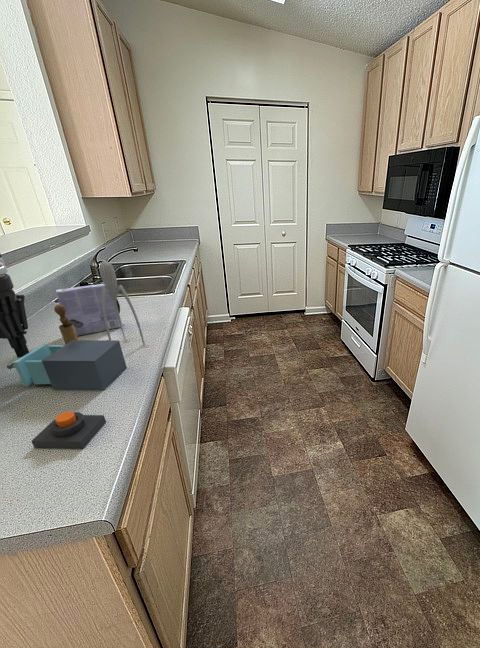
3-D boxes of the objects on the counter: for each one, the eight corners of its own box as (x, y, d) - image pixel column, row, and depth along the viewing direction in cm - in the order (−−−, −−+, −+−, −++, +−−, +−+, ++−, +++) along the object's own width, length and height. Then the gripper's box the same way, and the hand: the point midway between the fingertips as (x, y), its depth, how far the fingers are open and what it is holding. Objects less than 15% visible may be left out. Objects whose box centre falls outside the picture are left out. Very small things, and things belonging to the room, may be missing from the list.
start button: (54, 427, 73) (51, 421, 73) (64, 417, 77) (62, 411, 76) (69, 427, 73) (67, 421, 73) (80, 417, 77) (77, 411, 76)
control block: (34, 448, 73) (27, 434, 71) (62, 421, 81) (56, 408, 79) (83, 449, 72) (77, 435, 71) (106, 422, 80) (101, 409, 79)
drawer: (7, 386, 94) (-5, 362, 90) (37, 365, 104) (27, 343, 100) (70, 386, 93) (61, 362, 90) (94, 366, 103) (86, 343, 100)
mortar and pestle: (91, 350, 115) (74, 301, 107) (83, 359, 109) (65, 307, 101) (70, 352, 114) (52, 302, 106) (61, 361, 108) (41, 309, 100)
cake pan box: (124, 322, 137) (112, 280, 129) (126, 326, 133) (114, 283, 125) (69, 333, 128) (54, 289, 120) (70, 338, 124) (53, 292, 116)
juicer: (139, 351, 114) (117, 263, 100) (112, 352, 113) (86, 264, 100) (149, 338, 123) (130, 256, 110) (124, 339, 122) (101, 257, 109)
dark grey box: (53, 390, 93) (41, 360, 89) (81, 367, 104) (72, 340, 100) (104, 390, 93) (94, 360, 88) (127, 367, 104) (119, 340, 100)
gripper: (-19, 283, 79) (18, 368, 90) (24, 269, 91) (52, 346, 101) (-49, 282, 80) (-9, 367, 90) (-3, 269, 91) (28, 346, 102)
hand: (24, 356), depth 96 cm, fingers closed
